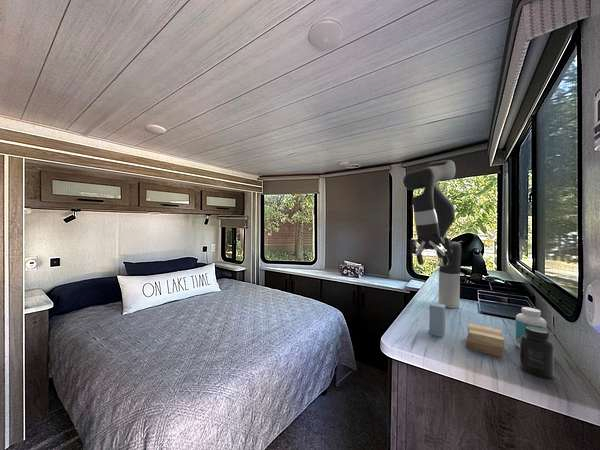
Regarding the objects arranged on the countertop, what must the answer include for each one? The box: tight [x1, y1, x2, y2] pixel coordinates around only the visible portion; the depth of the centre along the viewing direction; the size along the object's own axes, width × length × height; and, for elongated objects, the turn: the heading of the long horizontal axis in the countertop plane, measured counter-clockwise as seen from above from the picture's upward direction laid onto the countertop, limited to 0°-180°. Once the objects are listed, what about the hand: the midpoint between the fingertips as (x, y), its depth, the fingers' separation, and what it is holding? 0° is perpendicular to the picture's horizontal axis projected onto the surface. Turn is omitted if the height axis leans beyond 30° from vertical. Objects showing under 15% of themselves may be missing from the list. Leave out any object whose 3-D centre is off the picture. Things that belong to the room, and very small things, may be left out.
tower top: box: [467, 323, 506, 350], centre depth 80 cm, size 9×9×3 cm
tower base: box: [465, 335, 502, 358], centre depth 80 cm, size 9×9×3 cm
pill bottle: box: [514, 306, 548, 349], centre depth 79 cm, size 8×7×14 cm
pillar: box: [428, 301, 447, 339], centre depth 89 cm, size 4×4×11 cm
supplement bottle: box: [519, 326, 555, 379], centre depth 67 cm, size 7×7×12 cm
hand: (433, 264), depth 88 cm, fingers open, 8 cm apart
